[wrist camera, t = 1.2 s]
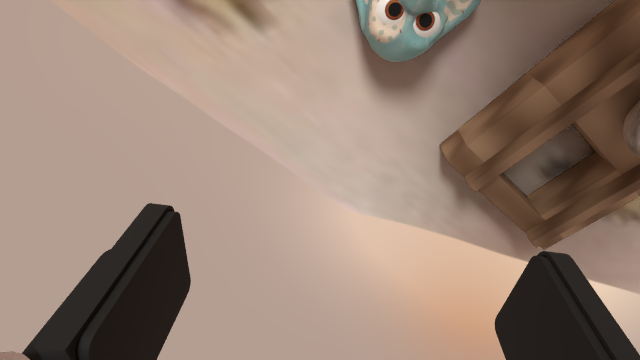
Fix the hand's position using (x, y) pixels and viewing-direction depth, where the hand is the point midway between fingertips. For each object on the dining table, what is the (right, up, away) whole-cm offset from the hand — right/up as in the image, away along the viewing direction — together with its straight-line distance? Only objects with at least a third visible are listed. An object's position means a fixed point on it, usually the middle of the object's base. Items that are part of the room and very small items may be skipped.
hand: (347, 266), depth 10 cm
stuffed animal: (+7, +19, +19) cm, 28 cm away
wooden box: (+24, +7, +25) cm, 35 cm away
